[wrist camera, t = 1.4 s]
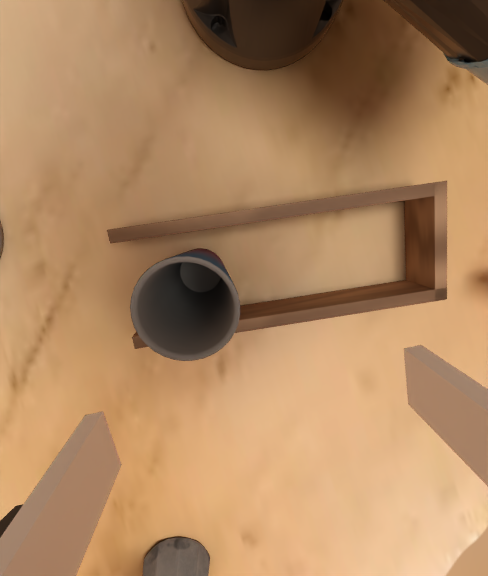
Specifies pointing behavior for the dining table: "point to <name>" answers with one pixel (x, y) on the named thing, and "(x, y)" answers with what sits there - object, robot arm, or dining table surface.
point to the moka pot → (177, 559)
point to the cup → (186, 306)
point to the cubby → (414, 290)
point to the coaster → (1, 239)
